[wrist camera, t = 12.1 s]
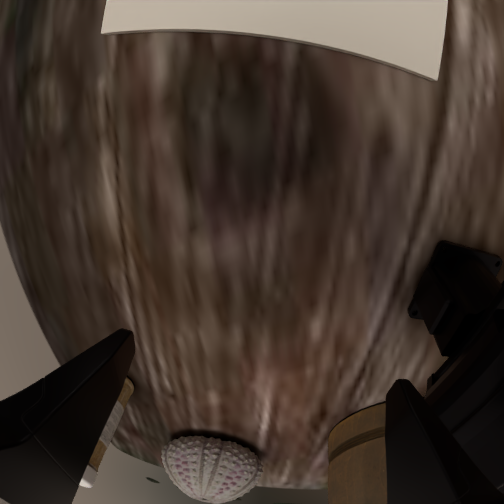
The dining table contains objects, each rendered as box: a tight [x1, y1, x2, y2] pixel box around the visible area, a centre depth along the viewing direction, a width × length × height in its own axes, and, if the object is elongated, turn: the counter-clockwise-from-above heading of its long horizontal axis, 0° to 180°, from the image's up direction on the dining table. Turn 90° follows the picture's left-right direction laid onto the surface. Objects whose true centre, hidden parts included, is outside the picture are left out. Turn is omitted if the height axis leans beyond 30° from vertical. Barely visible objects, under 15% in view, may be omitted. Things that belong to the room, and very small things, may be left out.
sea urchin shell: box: [161, 436, 263, 504], centre depth 33 cm, size 13×14×8 cm
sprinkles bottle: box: [79, 377, 134, 488], centre depth 26 cm, size 5×5×14 cm
